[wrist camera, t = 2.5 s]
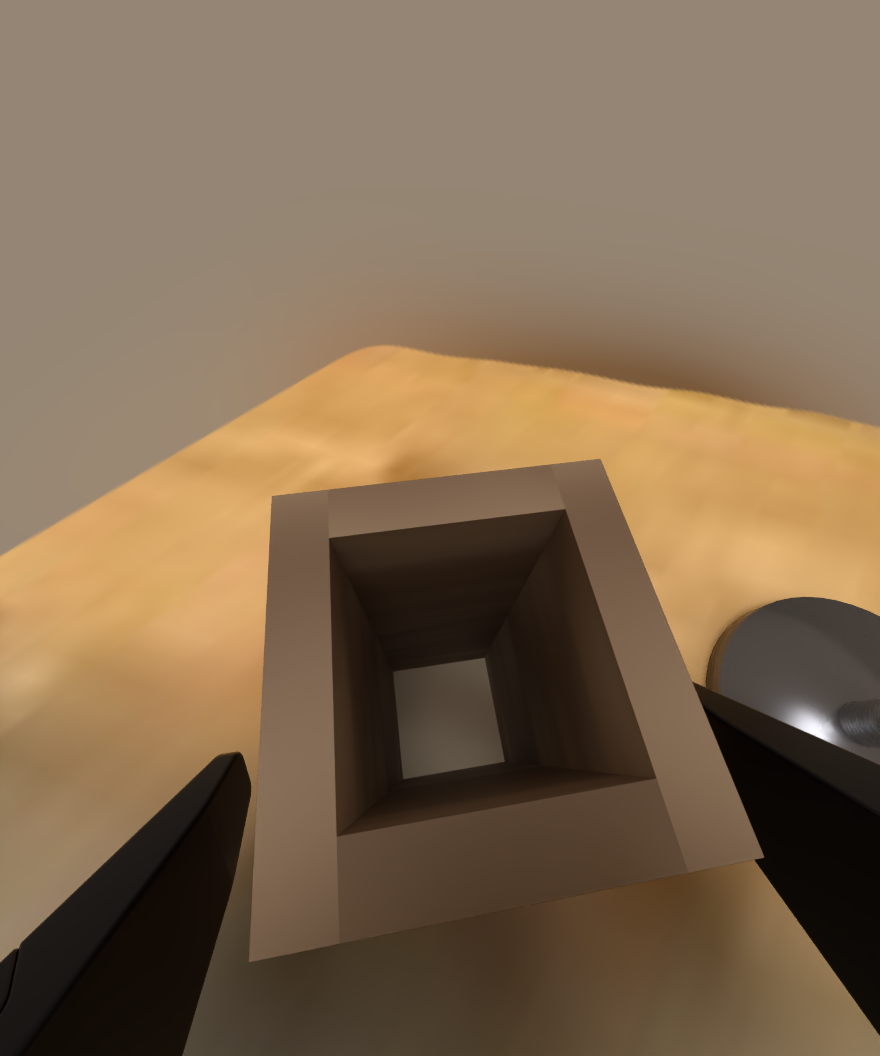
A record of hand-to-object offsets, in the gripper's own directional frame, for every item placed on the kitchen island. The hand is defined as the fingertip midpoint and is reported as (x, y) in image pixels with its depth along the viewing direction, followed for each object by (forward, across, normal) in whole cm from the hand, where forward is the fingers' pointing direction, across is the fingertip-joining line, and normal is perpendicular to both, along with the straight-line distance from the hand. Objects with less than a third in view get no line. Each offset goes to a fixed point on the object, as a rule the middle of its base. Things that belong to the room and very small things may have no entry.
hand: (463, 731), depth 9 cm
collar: (+6, 0, +5) cm, 8 cm away
